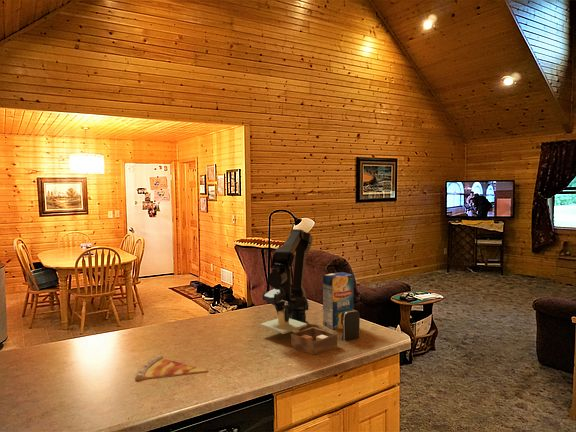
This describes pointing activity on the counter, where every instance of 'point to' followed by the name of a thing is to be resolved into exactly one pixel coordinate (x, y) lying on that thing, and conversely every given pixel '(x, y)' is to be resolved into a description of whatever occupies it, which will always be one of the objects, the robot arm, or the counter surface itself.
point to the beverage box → (337, 298)
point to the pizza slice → (164, 369)
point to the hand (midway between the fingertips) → (283, 320)
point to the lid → (283, 324)
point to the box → (314, 341)
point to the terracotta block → (307, 337)
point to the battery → (350, 324)
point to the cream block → (320, 337)
